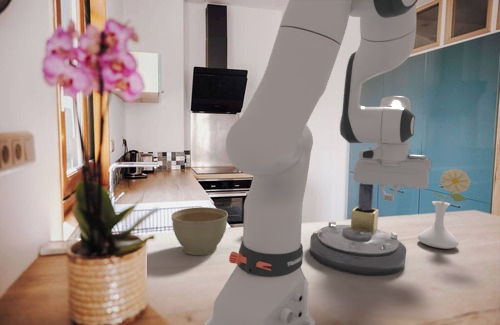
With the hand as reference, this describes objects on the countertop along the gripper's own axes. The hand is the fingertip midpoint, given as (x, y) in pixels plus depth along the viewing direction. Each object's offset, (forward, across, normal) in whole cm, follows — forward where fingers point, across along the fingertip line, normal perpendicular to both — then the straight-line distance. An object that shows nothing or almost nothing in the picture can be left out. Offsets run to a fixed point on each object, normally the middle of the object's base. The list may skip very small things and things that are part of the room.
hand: (388, 200), depth 98 cm
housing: (+16, +7, +8) cm, 19 cm away
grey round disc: (+11, +7, +8) cm, 15 cm away
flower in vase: (+16, -14, -15) cm, 26 cm away
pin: (+10, +6, 0) cm, 12 cm away
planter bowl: (+16, +47, +29) cm, 57 cm away
